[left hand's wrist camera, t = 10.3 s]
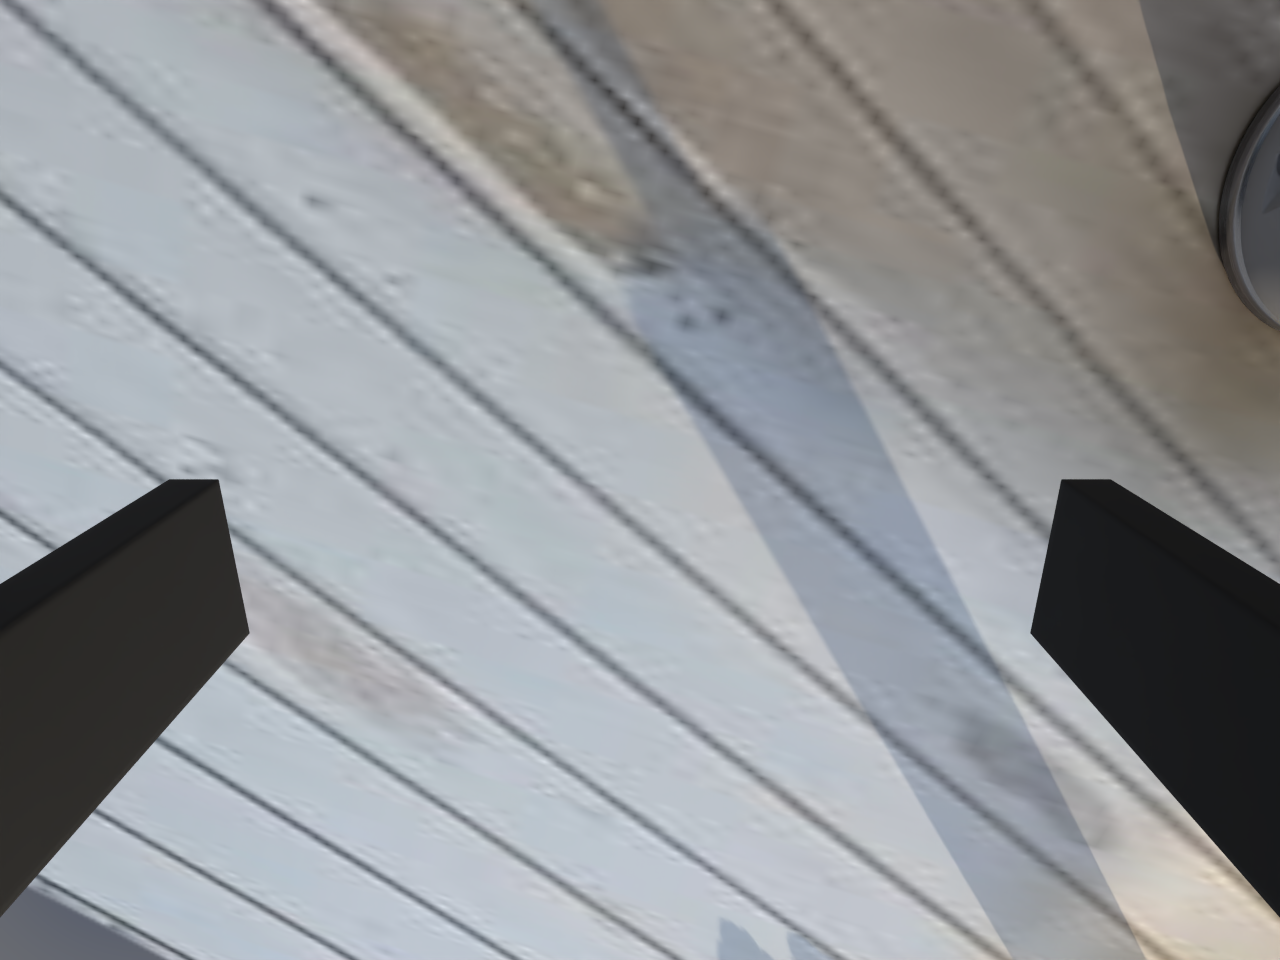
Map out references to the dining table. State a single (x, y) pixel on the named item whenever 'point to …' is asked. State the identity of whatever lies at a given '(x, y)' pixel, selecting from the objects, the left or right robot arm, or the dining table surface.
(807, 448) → the dining table surface
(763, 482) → the dining table surface
